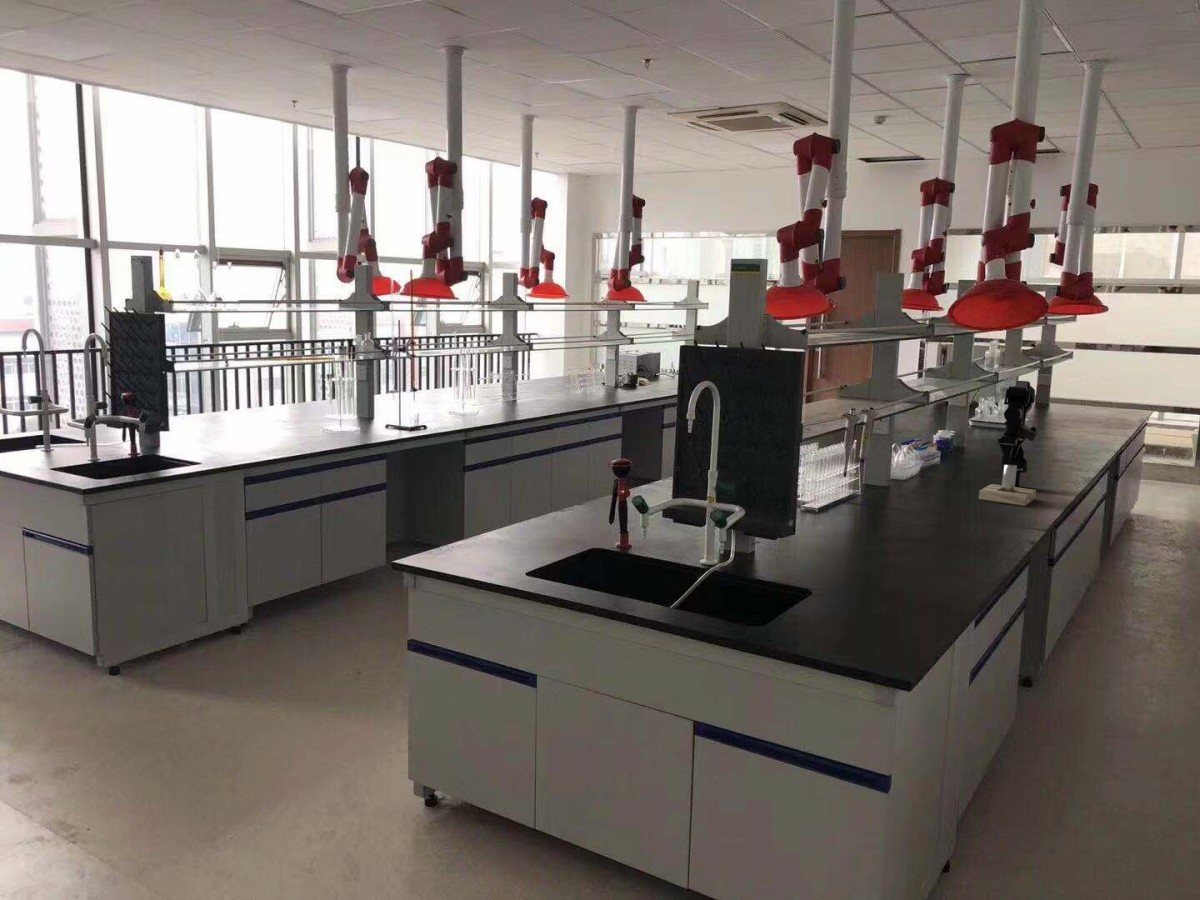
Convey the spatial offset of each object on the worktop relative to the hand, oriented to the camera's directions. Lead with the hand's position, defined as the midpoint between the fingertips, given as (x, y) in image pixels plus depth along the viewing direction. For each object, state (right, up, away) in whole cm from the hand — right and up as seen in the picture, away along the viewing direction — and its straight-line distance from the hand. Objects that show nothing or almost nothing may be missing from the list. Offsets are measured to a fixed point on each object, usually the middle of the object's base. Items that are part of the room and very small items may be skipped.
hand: (1010, 459), depth 354 cm
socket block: (-6, -15, -9) cm, 18 cm away
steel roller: (-5, -14, -9) cm, 18 cm away
